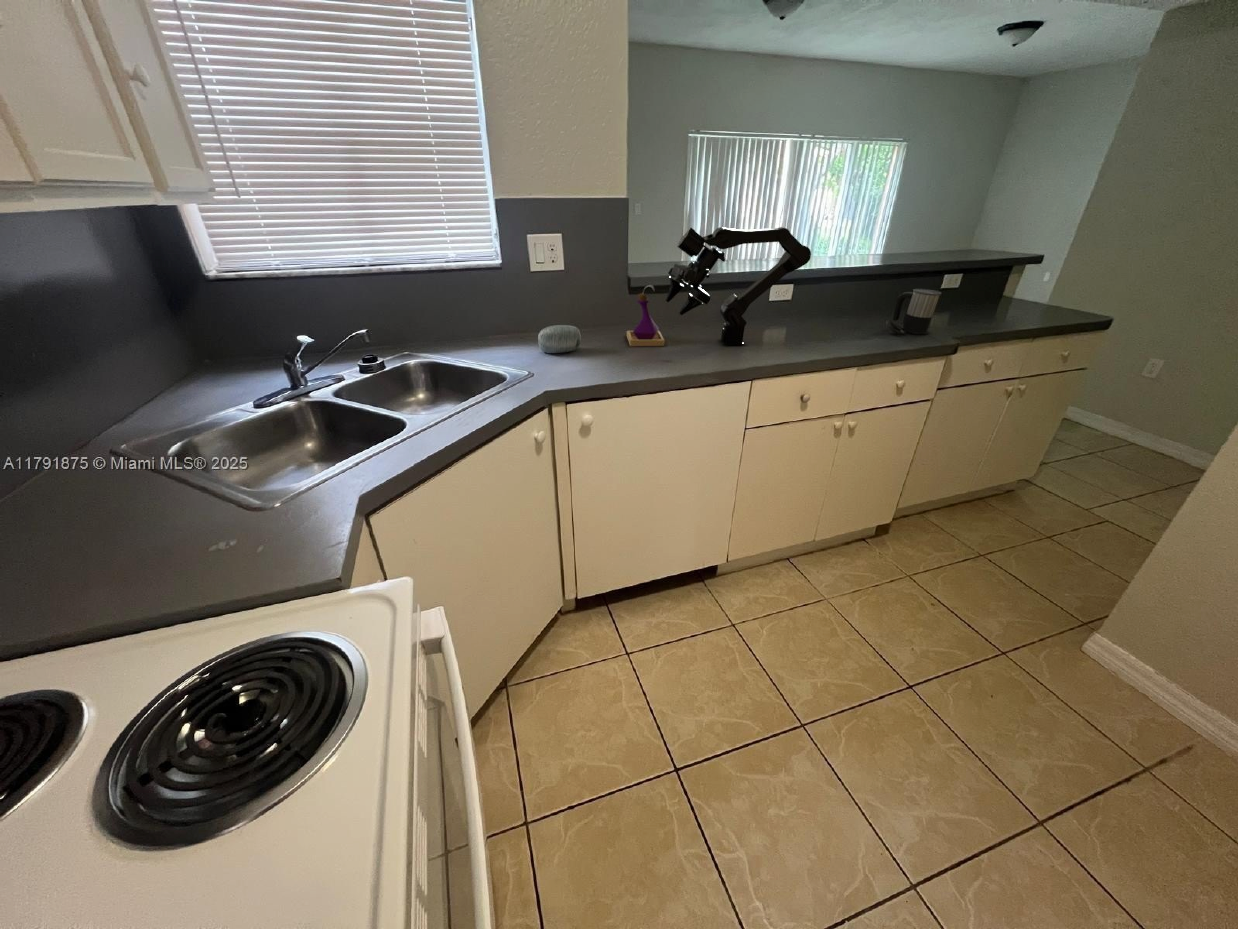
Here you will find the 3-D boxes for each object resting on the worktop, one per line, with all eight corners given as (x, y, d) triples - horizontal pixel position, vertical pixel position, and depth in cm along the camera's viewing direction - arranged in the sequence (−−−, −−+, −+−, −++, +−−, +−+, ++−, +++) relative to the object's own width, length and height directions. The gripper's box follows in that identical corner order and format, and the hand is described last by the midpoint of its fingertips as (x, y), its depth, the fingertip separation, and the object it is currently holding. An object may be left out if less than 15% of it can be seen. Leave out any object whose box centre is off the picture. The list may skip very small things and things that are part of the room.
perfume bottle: (632, 341, 165) (634, 286, 156) (637, 335, 172) (639, 282, 162) (654, 343, 164) (657, 287, 154) (658, 337, 170) (661, 283, 161)
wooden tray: (658, 336, 173) (659, 330, 172) (664, 345, 163) (664, 340, 162) (626, 336, 172) (626, 330, 171) (630, 346, 162) (630, 340, 161)
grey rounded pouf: (579, 334, 161) (574, 311, 152) (586, 355, 156) (580, 332, 148) (540, 345, 161) (532, 323, 152) (545, 366, 156) (537, 345, 147)
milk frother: (928, 330, 186) (942, 290, 179) (925, 340, 175) (940, 297, 167) (888, 324, 193) (899, 285, 185) (882, 333, 181) (894, 292, 174)
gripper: (672, 242, 155) (644, 285, 162) (702, 266, 144) (671, 311, 150) (693, 258, 163) (666, 298, 169) (724, 282, 151) (693, 324, 158)
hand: (673, 307), depth 161 cm, fingers open, 9 cm apart
